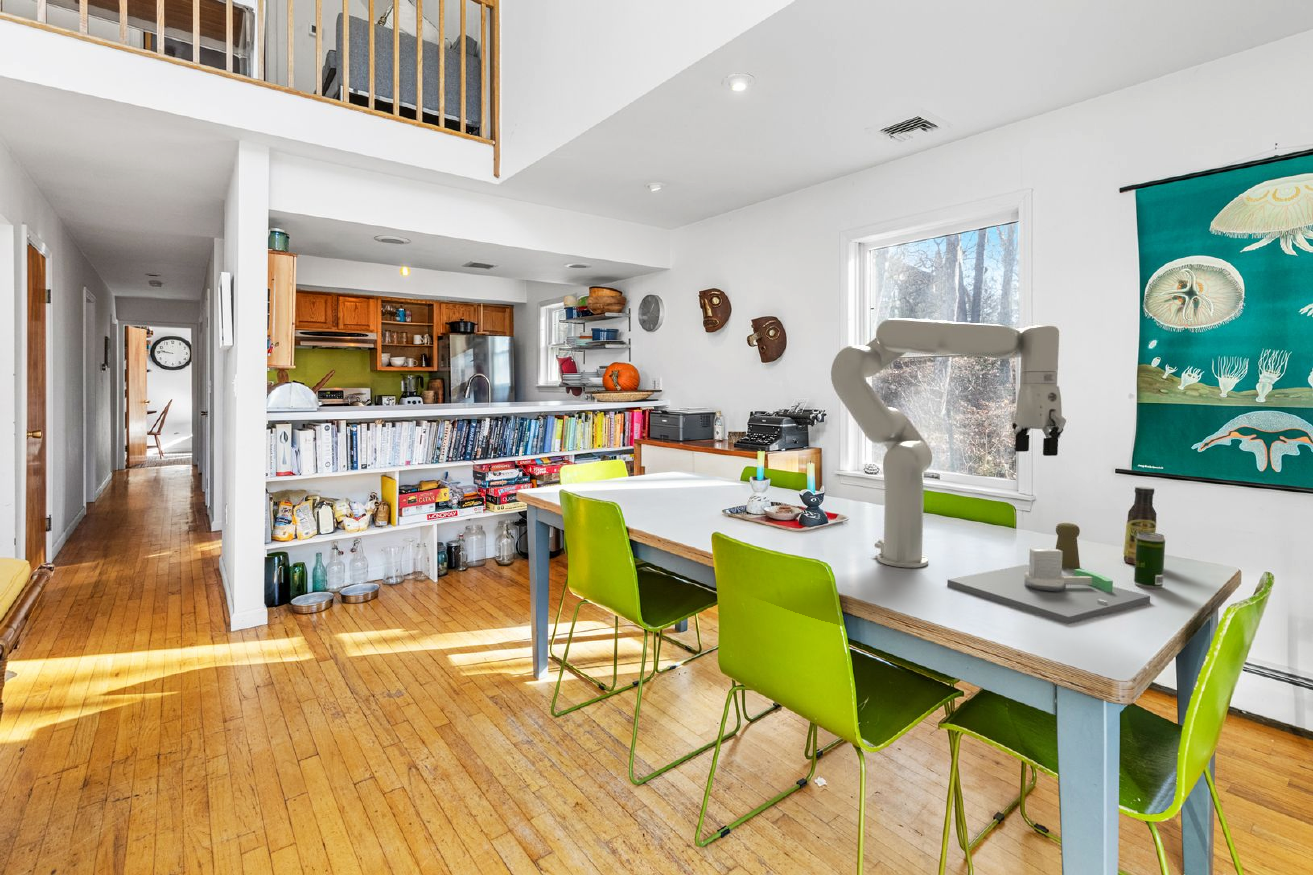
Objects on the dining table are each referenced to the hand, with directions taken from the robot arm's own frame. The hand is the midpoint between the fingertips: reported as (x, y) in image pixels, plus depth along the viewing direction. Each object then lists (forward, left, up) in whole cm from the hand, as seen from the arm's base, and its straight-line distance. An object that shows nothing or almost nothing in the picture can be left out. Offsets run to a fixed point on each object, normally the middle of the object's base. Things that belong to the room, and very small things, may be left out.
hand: (1035, 453), depth 155 cm
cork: (-4, +20, -31) cm, 37 cm away
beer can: (+15, +20, -31) cm, 39 cm away
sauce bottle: (+3, +39, -31) cm, 50 cm away
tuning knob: (+9, -4, -28) cm, 30 cm away
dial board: (+8, -7, -30) cm, 32 cm away
